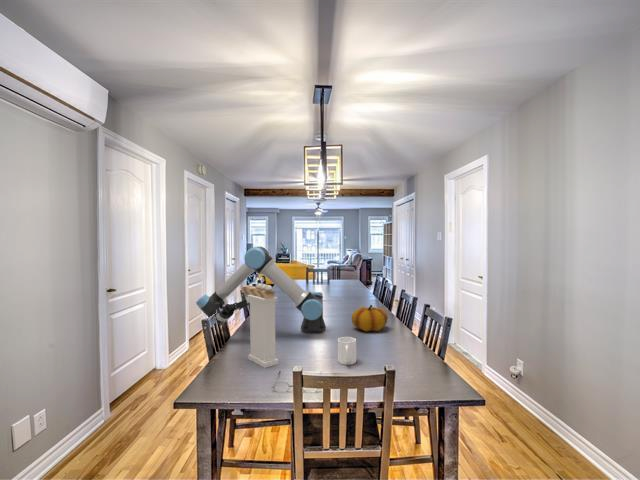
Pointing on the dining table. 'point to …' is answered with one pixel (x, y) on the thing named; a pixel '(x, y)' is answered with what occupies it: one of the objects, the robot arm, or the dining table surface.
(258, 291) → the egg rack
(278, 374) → the eyeglasses
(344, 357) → the cup
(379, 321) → the decorative pumpkin
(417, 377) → the dining table surface
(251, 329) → the pedestal
